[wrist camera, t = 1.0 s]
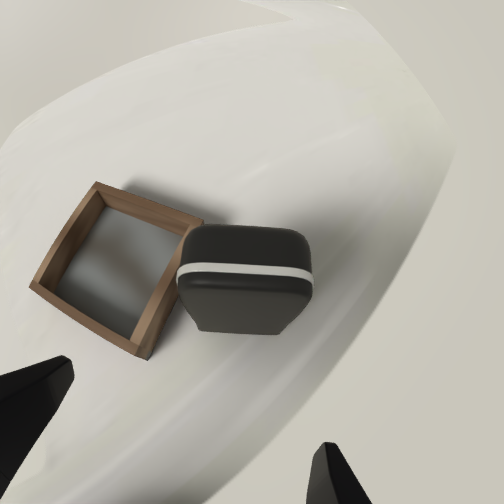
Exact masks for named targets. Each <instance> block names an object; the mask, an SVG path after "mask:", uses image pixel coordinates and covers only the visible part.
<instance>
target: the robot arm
mask: <svg viewBox="0 0 504 504" xmlns="http://www.w3.org/2000/svg"><path fill="white" fill-rule="evenodd" d="M74 376H75V375H74V370H73V365H72V361H71V360H70V359H69V358H67V357H65V356H63V355H61V356H57V357H54V358H52V359H49V360H46V361H43V362H40V363H37V364H34V365H31V366H28V367H25V368H22V369H19V370H16V371H13V372H10V373H7V374H3V375H0V499H1V498H2V496H3V494H4V492H5V491H6V489H7V487H8V485H9V484H10V481H11V480H12V479H13V477H14V475H15V474H16V472H17V470H18V469H19V467H20V466H21V464H22V462H23V461H24V459H25V458H26V456H27V455H28V453H29V451H30V450H31V448H32V447H33V445H34V444H35V442H36V441H37V439H38V438H39V436H40V435H41V433H42V432H43V430H44V429H45V427H46V426H47V425H48V423H49V422H50V420H51V419H52V417H53V416H54V414H55V413H56V411H57V410H58V408H59V406H60V404H61V403H62V401H63V399H64V397H65V395H66V393H67V391H68V390H69V388H70V386H71V384H72V382H73V380H74ZM306 504H372V503H371V501H370V500H369V498H368V496H367V495H366V493H365V491H364V490H363V488H362V486H361V485H360V483H359V482H358V480H357V478H356V476H355V475H354V473H353V471H352V470H351V468H350V466H349V465H348V463H347V461H346V459H345V458H344V456H343V454H342V453H341V451H340V449H339V448H338V446H337V445H336V444H335V443H331V442H324V443H323V444H322V445H321V446H320V447H319V449H318V450H317V451H316V453H315V454H314V456H313V461H312V467H311V473H310V479H309V485H308V490H307V499H306Z"/></svg>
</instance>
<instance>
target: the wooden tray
mask: <svg viewBox="0 0 504 504" xmlns="http://www.w3.org/2000/svg"><path fill="white" fill-rule="evenodd" d="M200 225H204V220H202V219H200V218H197V217H194V216H191V215H189V214H186V213H183V212H180V211H178V210H175V209H172V208H169V207H167V206H164V205H161V204H158V203H156V202H153V201H150V200H147V199H145V198H142V197H139V196H136V195H133V194H131V193H128V192H125V191H122V190H119V189H117V188H114V187H111V186H108V185H105V184H102V183H100V182H97V181H96V182H95V183H94V184H93V186H92V187H91V188H90V190H89V191H88V192H87V194H86V195H85V197H84V198H83V199H82V201H81V202H80V204H79V205H78V206H77V208H76V209H75V211H74V212H73V214H72V215H71V217H70V218H69V220H68V221H67V223H66V224H65V226H64V227H63V229H62V230H61V232H60V233H59V235H58V237H57V238H56V240H55V241H54V243H53V245H52V246H51V248H50V250H49V251H48V253H47V255H46V256H45V258H44V260H43V262H42V263H41V265H40V267H39V269H38V271H37V272H36V274H35V276H34V278H33V280H32V282H31V284H30V286H29V288H30V289H32V290H33V291H34V292H36V293H37V294H38V295H40V296H41V297H42V298H44V299H45V300H46V301H48V302H49V303H50V304H52V305H53V306H55V307H56V308H58V309H59V310H60V311H62V312H63V313H65V314H66V315H68V316H69V317H71V318H72V319H74V320H75V321H77V322H78V323H80V324H81V325H83V326H85V327H86V328H88V329H89V330H91V331H93V332H94V333H96V334H97V335H99V336H101V337H102V338H104V339H106V340H107V341H109V342H111V343H113V344H114V345H116V346H118V347H119V348H121V349H123V350H125V351H127V352H128V353H130V354H132V355H134V356H136V357H139V358H142V359H145V360H147V361H148V359H149V357H150V355H151V352H152V350H153V348H154V346H155V344H156V342H157V340H158V337H159V335H160V333H161V331H162V329H163V327H164V325H165V323H166V321H167V318H168V316H169V314H170V312H171V310H172V308H173V306H174V304H175V302H176V300H177V298H178V296H179V294H178V289H177V283H176V277H177V271H178V269H179V268H180V261H181V254H182V247H183V243H184V240H185V238H186V236H187V235H188V234H189V232H190V231H191V230H192V229H194V228H196V227H198V226H200Z"/></svg>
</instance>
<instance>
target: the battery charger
mask: <svg viewBox="0 0 504 504" xmlns="http://www.w3.org/2000/svg"><path fill="white" fill-rule="evenodd" d="M176 283H177V289H178V294H179V296H180V299H181V301H182V303H183V305H184V307H185V308H186V310H187V312H188V313H189V314H190V316H191V317H192V319H193V320H194V321H195V323H196V324H197V327H198V329H199V330H200V331H206V332H220V333H236V334H259V335H279V334H280V333H281V331H282V330H283V329H284V328H285V327H286V326H287V325H288V324H289V323H290V322H291V321H293V320H294V319H295V318H296V317H297V316H298V315H299V314H300V313H301V312H302V310H303V309H304V308H305V307H306V305H307V304H308V303H309V301H310V300H311V297H312V292H313V288H314V277H313V275H312V268H311V253H310V248H309V244H308V242H307V240H306V239H305V237H304V236H303V235H301V234H300V233H298V232H297V231H294V230H290V229H283V228H271V227H258V226H243V225H221V224H205V225H200V226H198V227H196V228H194V229H192V230H191V231H190V232H189V234H188V235H187V236H186V238H185V240H184V243H183V247H182V254H181V261H180V268H179V269H178V271H177V277H176Z"/></svg>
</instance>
